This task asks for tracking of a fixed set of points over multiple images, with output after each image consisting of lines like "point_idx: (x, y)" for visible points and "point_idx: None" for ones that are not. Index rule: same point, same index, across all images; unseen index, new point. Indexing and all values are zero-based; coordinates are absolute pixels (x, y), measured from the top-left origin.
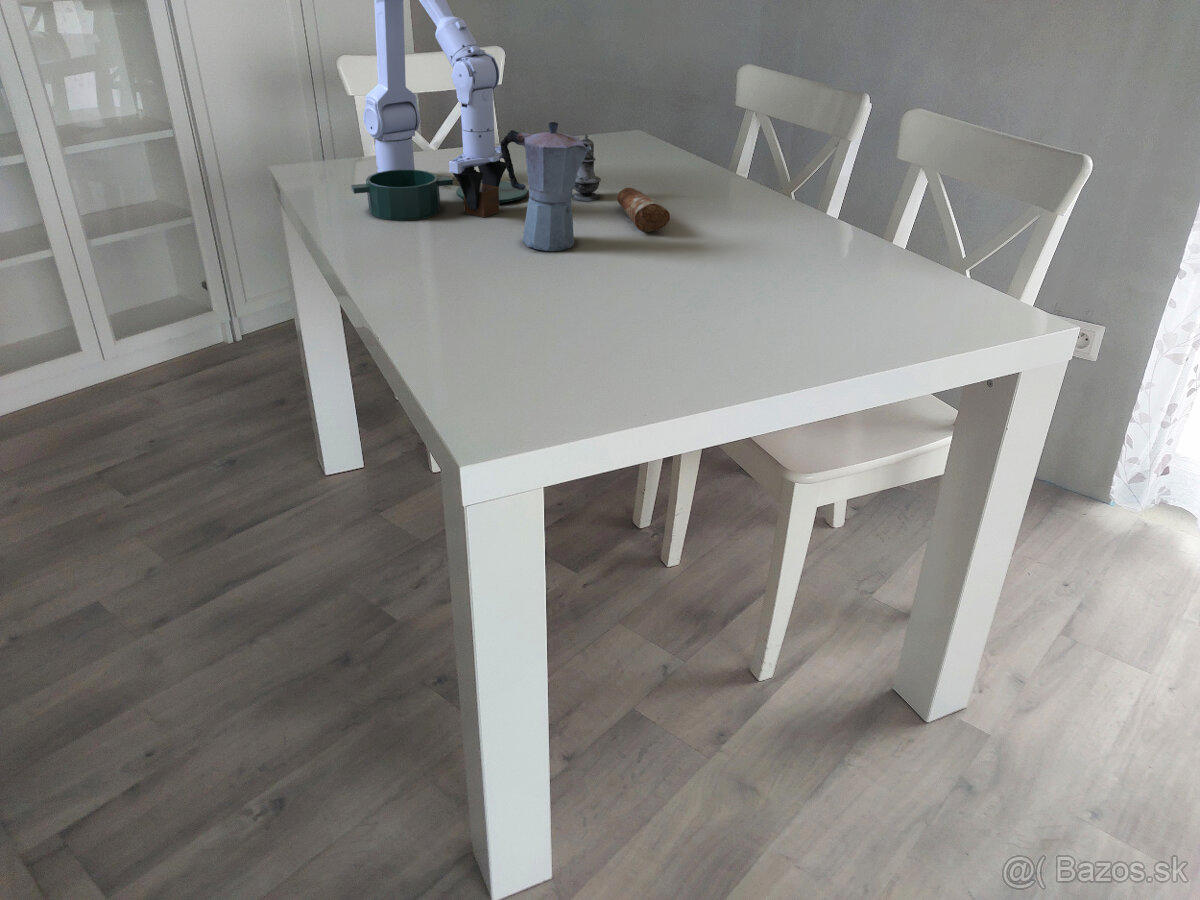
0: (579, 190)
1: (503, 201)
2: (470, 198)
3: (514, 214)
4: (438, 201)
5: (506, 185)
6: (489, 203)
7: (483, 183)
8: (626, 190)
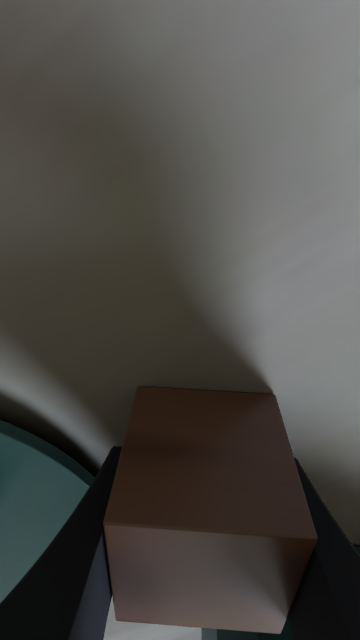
0: None
1: (28, 435)
2: None
3: (124, 296)
4: None
5: None
6: (228, 443)
7: (107, 605)
8: None
